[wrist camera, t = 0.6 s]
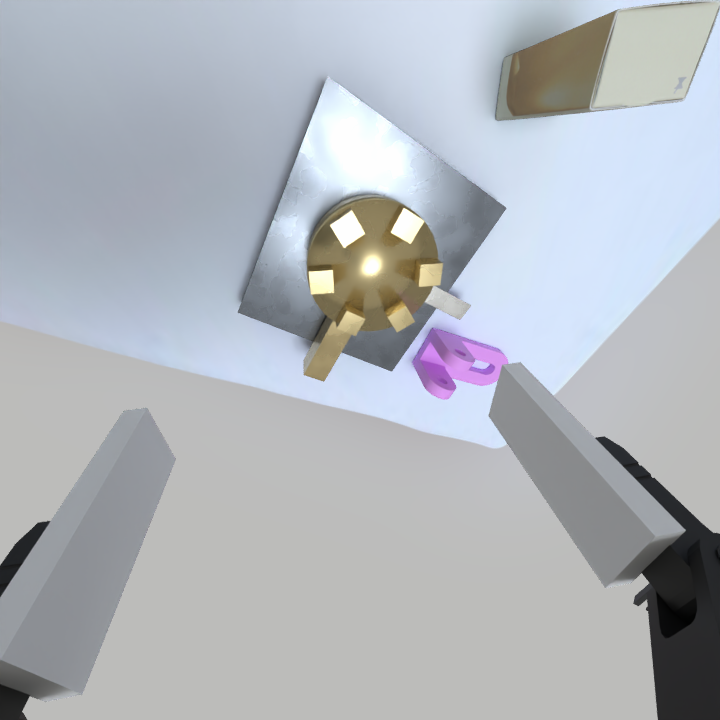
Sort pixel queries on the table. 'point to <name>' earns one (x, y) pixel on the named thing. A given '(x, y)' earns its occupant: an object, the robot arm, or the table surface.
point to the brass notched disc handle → (367, 273)
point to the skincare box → (610, 62)
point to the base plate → (354, 178)
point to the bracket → (455, 362)
